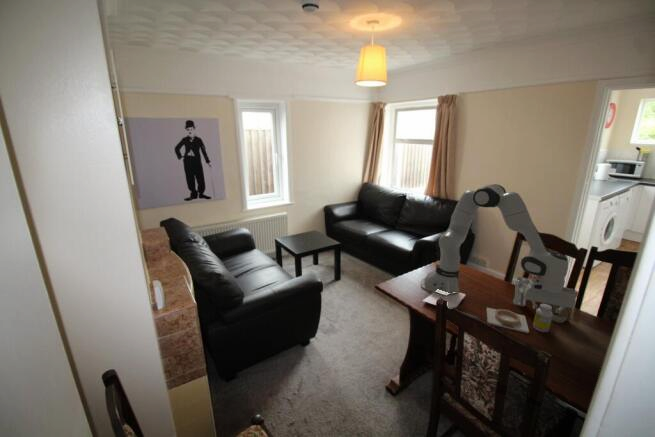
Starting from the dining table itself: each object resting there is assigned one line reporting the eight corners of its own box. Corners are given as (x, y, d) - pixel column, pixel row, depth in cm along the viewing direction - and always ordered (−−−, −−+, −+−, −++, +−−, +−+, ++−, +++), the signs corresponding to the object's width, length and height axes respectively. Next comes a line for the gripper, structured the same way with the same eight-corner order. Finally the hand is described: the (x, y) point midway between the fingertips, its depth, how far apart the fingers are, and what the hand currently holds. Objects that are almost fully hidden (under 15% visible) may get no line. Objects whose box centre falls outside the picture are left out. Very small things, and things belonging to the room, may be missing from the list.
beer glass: (528, 307, 167) (533, 283, 162) (514, 306, 168) (519, 282, 164) (523, 300, 173) (528, 277, 169) (510, 299, 175) (514, 276, 170)
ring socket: (487, 323, 154) (488, 318, 153) (486, 309, 166) (487, 304, 165) (528, 333, 146) (529, 328, 145) (524, 317, 158) (525, 312, 157)
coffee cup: (538, 314, 160) (544, 290, 156) (552, 310, 164) (558, 286, 160) (560, 327, 150) (567, 301, 146) (575, 322, 154) (582, 297, 150)
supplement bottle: (533, 322, 154) (538, 300, 150) (549, 327, 150) (554, 305, 146) (531, 329, 149) (537, 306, 145) (548, 334, 145) (553, 311, 141)
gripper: (576, 286, 141) (570, 312, 145) (525, 278, 149) (521, 302, 153) (581, 293, 135) (574, 319, 139) (527, 284, 144) (522, 309, 148)
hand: (546, 310), depth 146 cm, fingers open, 8 cm apart
